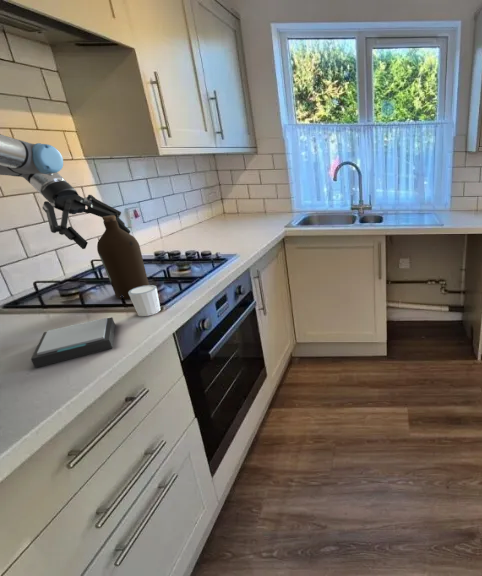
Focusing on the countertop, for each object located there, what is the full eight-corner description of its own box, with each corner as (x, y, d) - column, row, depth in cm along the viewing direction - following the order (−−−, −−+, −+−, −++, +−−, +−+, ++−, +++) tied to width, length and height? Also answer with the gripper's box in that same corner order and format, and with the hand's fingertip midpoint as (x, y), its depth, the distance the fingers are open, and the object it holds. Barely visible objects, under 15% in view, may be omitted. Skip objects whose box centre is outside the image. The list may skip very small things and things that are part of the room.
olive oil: (155, 285, 123) (133, 211, 113) (148, 296, 114) (124, 217, 104) (119, 289, 120) (93, 214, 110) (109, 302, 110) (80, 221, 101)
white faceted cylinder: (147, 318, 100) (139, 295, 97) (129, 315, 102) (121, 292, 99) (168, 308, 106) (162, 286, 103) (151, 305, 108) (144, 283, 105)
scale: (35, 368, 79) (29, 356, 78) (47, 340, 90) (42, 330, 89) (112, 348, 86) (108, 337, 85) (115, 325, 97) (111, 315, 96)
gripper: (7, 185, 97) (67, 243, 98) (99, 175, 118) (147, 222, 120) (3, 204, 100) (61, 260, 102) (93, 191, 122) (139, 237, 124)
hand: (108, 239), depth 111 cm, fingers open, 13 cm apart
